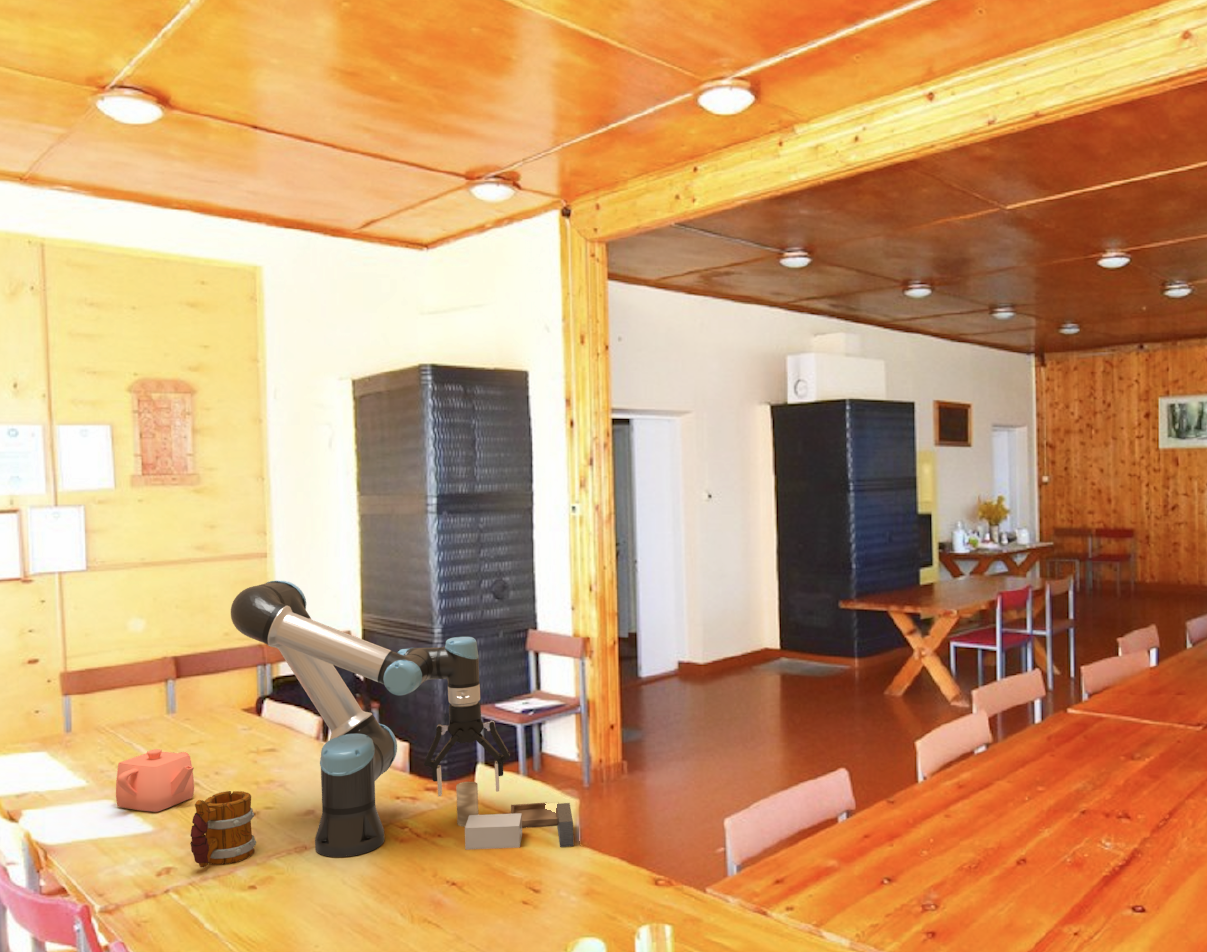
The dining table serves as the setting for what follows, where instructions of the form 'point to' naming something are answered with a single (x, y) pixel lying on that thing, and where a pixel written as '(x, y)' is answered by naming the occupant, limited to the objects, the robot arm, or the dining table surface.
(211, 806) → the mug
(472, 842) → the slab
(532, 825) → the tray
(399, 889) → the dining table surface
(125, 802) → the teapot
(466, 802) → the roller
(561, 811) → the block
